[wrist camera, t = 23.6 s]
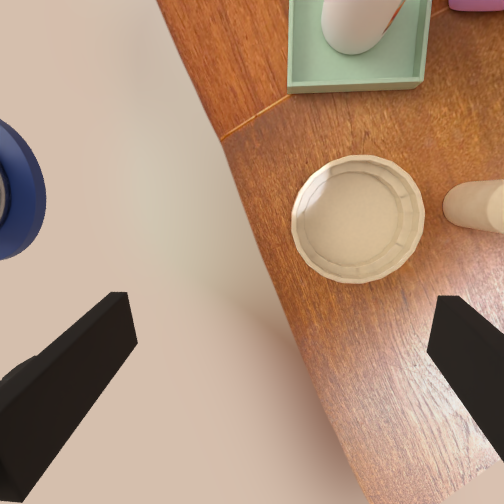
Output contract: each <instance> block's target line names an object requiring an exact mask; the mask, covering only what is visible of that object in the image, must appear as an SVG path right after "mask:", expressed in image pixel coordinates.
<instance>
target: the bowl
mask: <svg viewBox="0 0 504 504" xmlns="http://www.w3.org/2000/svg"><path fill="white" fill-rule="evenodd" d="M424 218H425V209H424V205H423V201H422V196H421V192H420V190H419V189H418V187H417V185H416V184H415V182H414V181H413V179H412V178H411V176H410V175H409V174H408V173H407V172H406V171H404V170H403V169H402V168H400V167H399V166H398V165H396V164H395V163H394V162H392V161H390V160H386V159H383V158H380V157H377V156H374V155H349V156H346V157H343V158H340V159H337V160H334V161H331V162H329V163H327V164H326V165H324V166H323V167H322V168H320V169H319V170H317V171H316V172H315V173H313V174H312V175H311V176H310V177H309V178H308V179H307V180H306V182H305V183H304V184H303V186H302V187H301V188H300V190H299V191H298V193H297V195H296V198H295V201H294V204H293V206H292V210H291V232H292V235H293V239H294V242H295V245H296V249H297V251H298V252H299V253H300V255H301V256H302V258H303V259H304V260H305V262H306V263H307V265H308V266H310V267H311V268H312V269H314V270H315V271H316V272H318V273H319V274H320V275H322V276H323V277H326V278H329V279H332V280H334V281H337V282H340V283H355V284H363V283H366V282H370V281H374V280H378V279H381V278H383V277H385V276H387V275H388V274H390V273H392V272H393V271H395V270H397V269H398V268H400V267H401V266H402V265H403V264H404V262H405V261H406V260H407V259H408V258H409V257H410V256H411V255H412V254H413V252H414V251H415V249H416V247H417V244H418V242H419V240H420V238H421V236H422V234H423V227H424Z"/></svg>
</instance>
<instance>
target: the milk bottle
mask: <svg viewBox="0 0 504 504" xmlns="http://www.w3.org/2000/svg"><path fill="white" fill-rule="evenodd" d="M404 2H405V0H324V3H323V8H322V15H321V27H322V32H323V35H324V37H325V39H326V41H327V42H328V44H329V45H330V46H331V47H332V48H333V49H335V50H336V51H338V52H341V53H343V54H349V55H354V54H360V53H363V52H365V51H368V50H369V49H371V48H372V47H374V46H375V45H376V44H377V43H378V42H379V41H380V40H381V39H382V37H383V36H384V34H385V33H386V31H387V30H388V28H389V27H390V25H391V23H392V22H393V20H394V18H395V17H396V15H397V14H398V12H399V10H400V9H401V7H402V5H403V4H404Z"/></svg>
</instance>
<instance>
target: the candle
mask: <svg viewBox="0 0 504 504" xmlns="http://www.w3.org/2000/svg"><path fill="white" fill-rule="evenodd" d="M443 212H444V215H445V217H446V218H447V219H448V220H449V221H450V222H451V223H453V224H455V225H457V226H461V227H466V228H472V229H478V230H483V231H489V232H494V233H500V234H504V179H500V180H486V181H473V182H465V183H462V184H459V185H457V186H455V187H454V188H452V189H451V190H450V191H449V192H448V193H447V195H446V197H445V199H444V202H443Z"/></svg>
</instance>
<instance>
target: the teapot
mask: <svg viewBox="0 0 504 504" xmlns="http://www.w3.org/2000/svg"><path fill="white" fill-rule="evenodd" d="M449 7H450V8H451V9H453V10H457V11H500V10H504V0H449Z"/></svg>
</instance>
